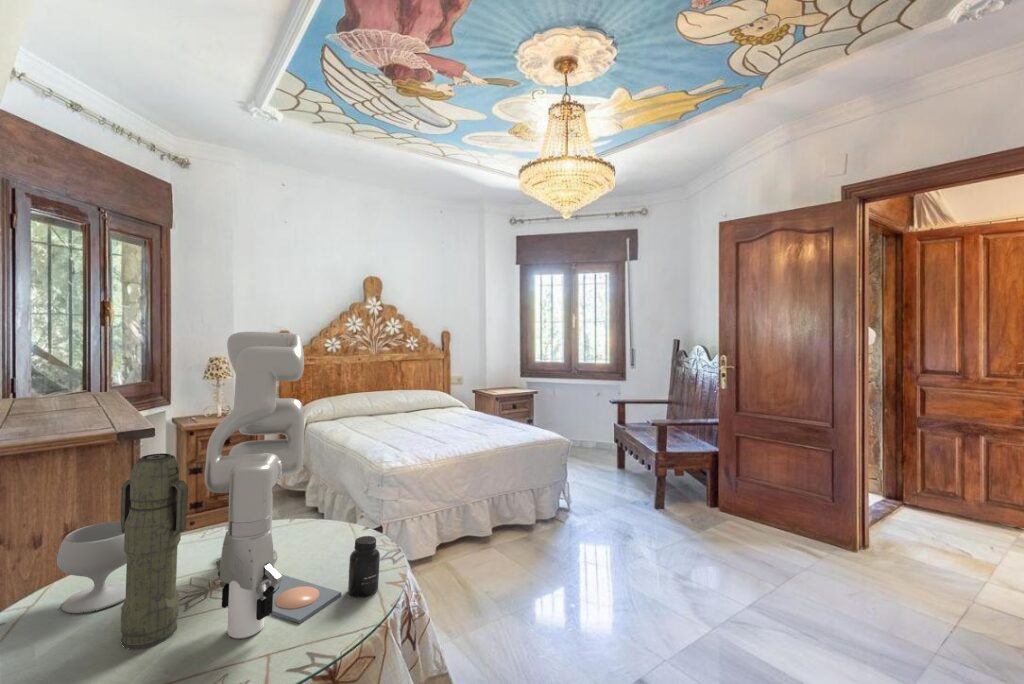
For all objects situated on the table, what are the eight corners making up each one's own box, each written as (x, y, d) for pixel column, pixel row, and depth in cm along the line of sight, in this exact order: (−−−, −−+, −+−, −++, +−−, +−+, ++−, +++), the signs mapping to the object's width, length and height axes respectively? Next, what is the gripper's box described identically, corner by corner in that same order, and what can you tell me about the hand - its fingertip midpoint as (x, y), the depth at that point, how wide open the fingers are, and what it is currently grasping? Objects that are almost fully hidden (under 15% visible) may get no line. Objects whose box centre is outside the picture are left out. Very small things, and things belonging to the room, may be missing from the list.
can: (237, 620, 98) (239, 562, 98) (269, 620, 98) (271, 562, 98) (220, 640, 91) (222, 578, 91) (255, 639, 92) (257, 578, 92)
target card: (232, 600, 105) (232, 596, 105) (277, 576, 116) (277, 572, 116) (299, 623, 97) (300, 619, 97) (341, 595, 108) (341, 591, 108)
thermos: (169, 648, 88) (175, 462, 88) (100, 651, 87) (106, 462, 87) (195, 620, 97) (201, 451, 97) (132, 622, 96) (138, 450, 96)
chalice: (114, 578, 112) (116, 515, 112) (154, 590, 108) (156, 525, 108) (39, 608, 99) (41, 537, 99) (81, 624, 95) (83, 549, 95)
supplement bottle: (369, 600, 107) (371, 547, 107) (342, 596, 108) (344, 544, 108) (383, 585, 113) (385, 535, 113) (357, 581, 115) (359, 532, 115)
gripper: (202, 524, 94) (199, 609, 94) (264, 540, 88) (261, 632, 88) (236, 512, 101) (234, 591, 101) (297, 526, 95) (294, 611, 95)
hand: (246, 610), depth 95 cm, fingers open, 9 cm apart
